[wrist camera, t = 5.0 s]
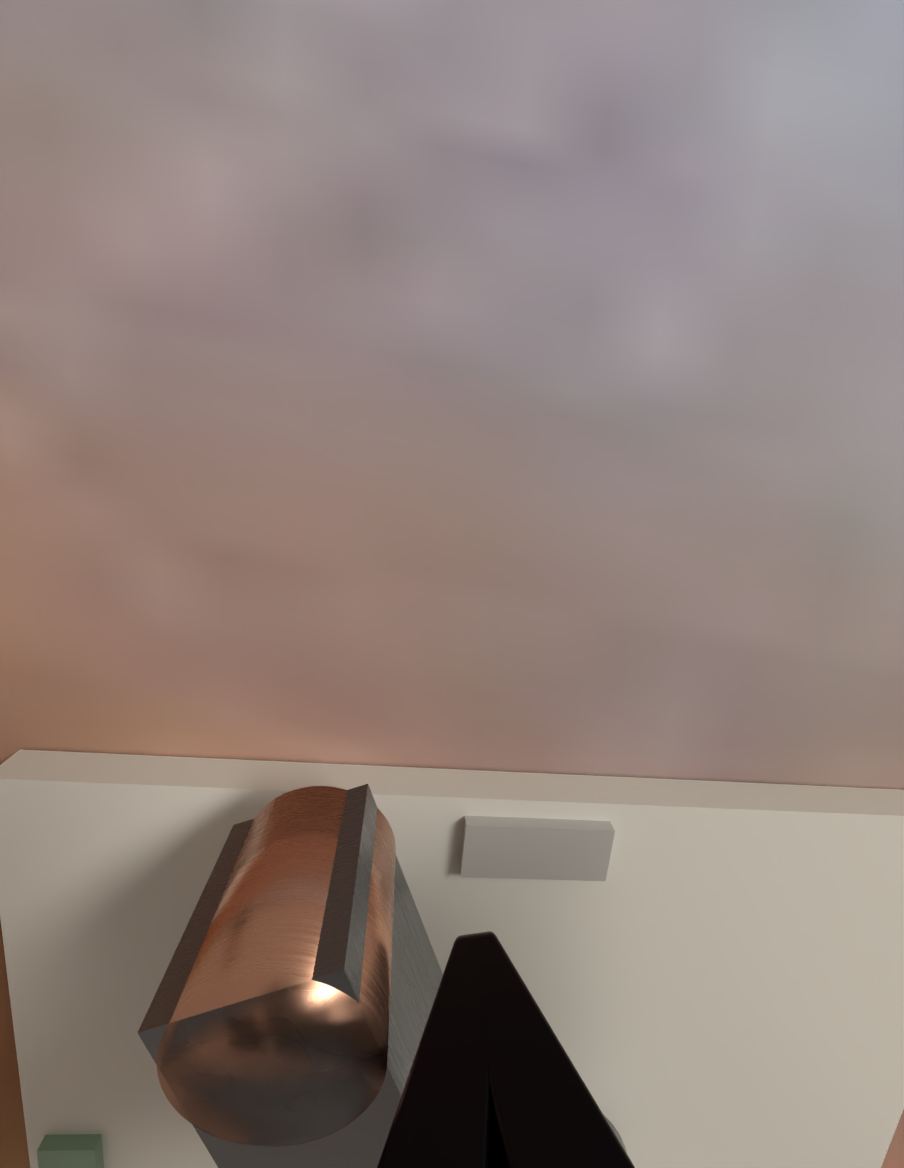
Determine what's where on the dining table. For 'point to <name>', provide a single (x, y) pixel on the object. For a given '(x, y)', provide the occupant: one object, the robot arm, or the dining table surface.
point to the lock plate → (524, 928)
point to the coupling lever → (297, 989)
